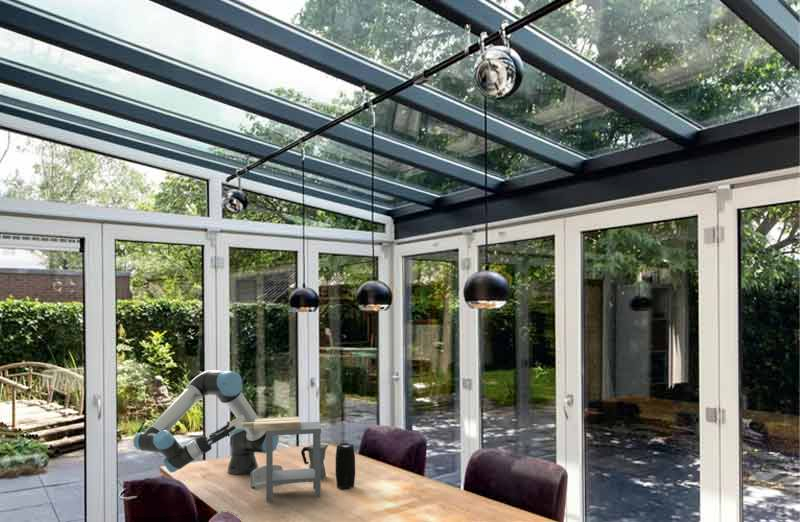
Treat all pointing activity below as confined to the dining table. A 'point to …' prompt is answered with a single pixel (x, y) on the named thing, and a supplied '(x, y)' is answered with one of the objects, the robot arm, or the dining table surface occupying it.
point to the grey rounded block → (261, 476)
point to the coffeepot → (310, 451)
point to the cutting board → (272, 424)
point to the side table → (296, 474)
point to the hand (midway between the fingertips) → (242, 419)
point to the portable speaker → (345, 466)
